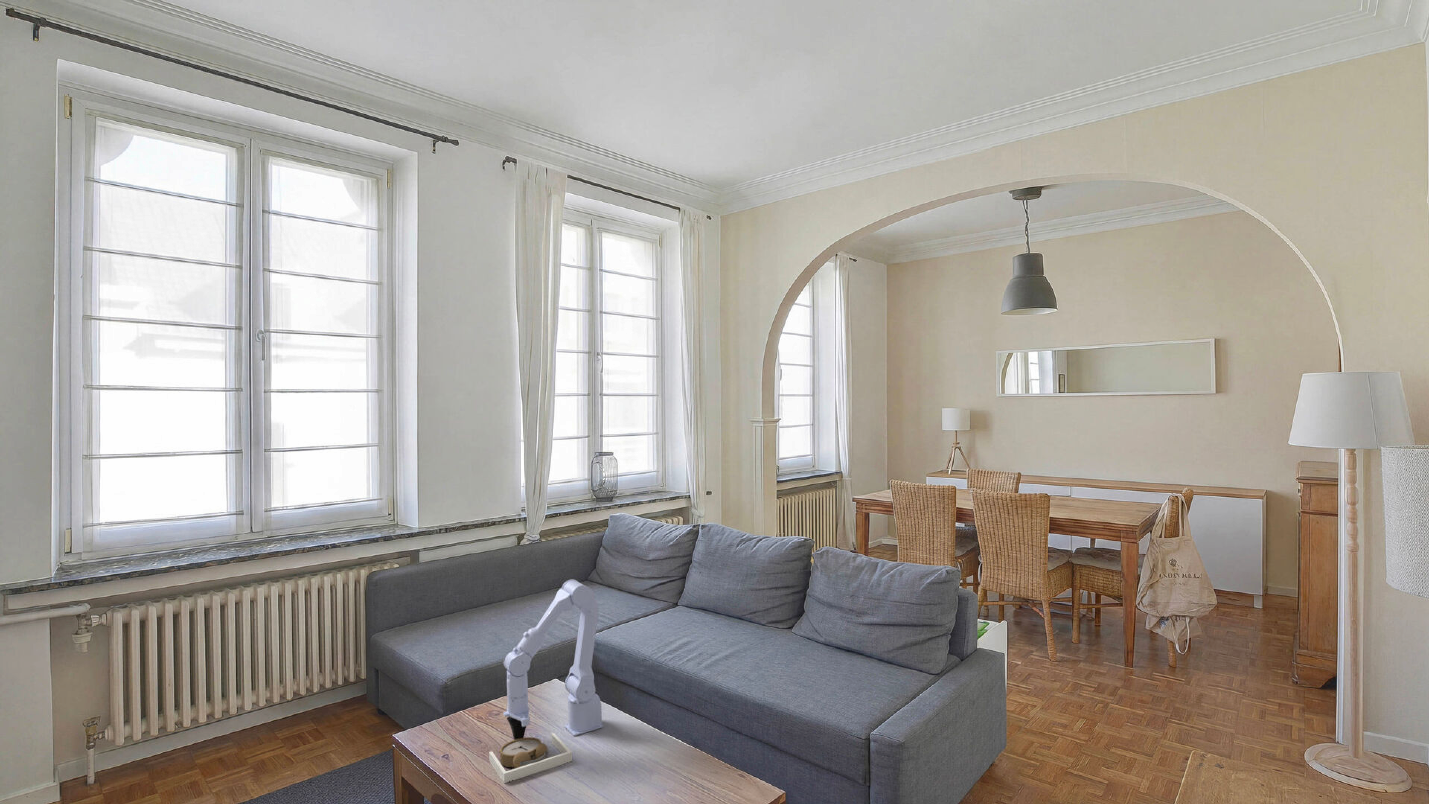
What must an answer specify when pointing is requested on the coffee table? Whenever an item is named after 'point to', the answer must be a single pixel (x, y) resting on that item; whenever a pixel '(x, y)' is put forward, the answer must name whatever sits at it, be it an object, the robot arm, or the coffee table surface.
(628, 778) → the coffee table surface
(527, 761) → the alarm clock
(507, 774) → the clock dock
